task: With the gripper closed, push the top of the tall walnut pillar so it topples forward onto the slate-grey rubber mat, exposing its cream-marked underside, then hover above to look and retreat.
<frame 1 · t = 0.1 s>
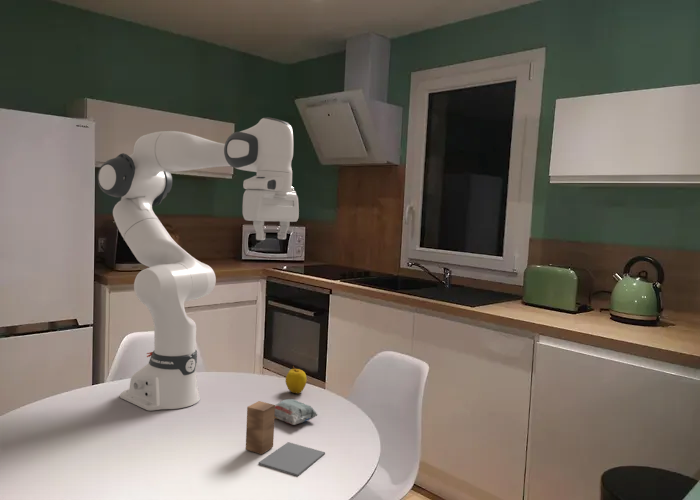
hand: (271, 239, 131), 48 cm above the table, fingers open, 8 cm apart
pillar: (259, 449, 121), on the table
mat: (292, 458, 117), on the table
packaged food: (290, 421, 138), on the table
apple: (295, 393, 160), on the table
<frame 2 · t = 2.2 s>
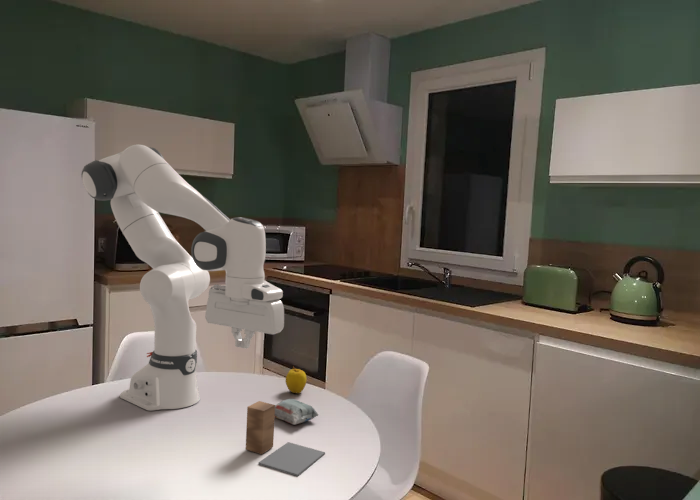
hand: (242, 347, 122), 23 cm above the table, fingers closed
nothing on the table moved.
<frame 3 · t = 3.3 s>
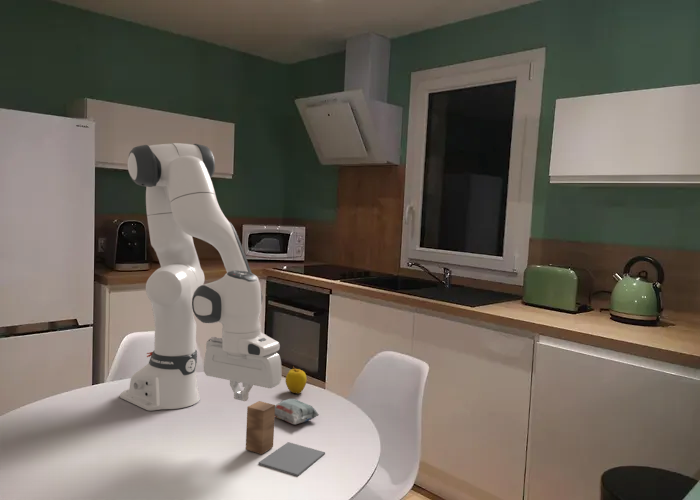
hand: (241, 399, 122), 11 cm above the table, fingers closed
nothing on the table moved.
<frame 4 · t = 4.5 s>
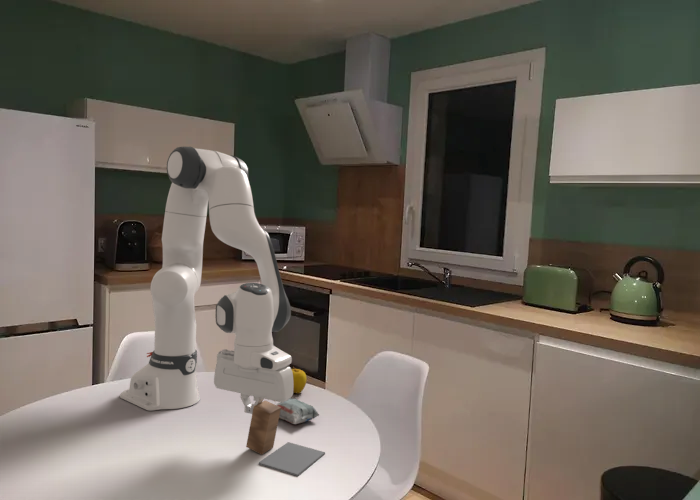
hand: (251, 413, 121), 8 cm above the table, fingers closed
pillar: (259, 448, 121), on the table, tilted 9°
everything else where it was.
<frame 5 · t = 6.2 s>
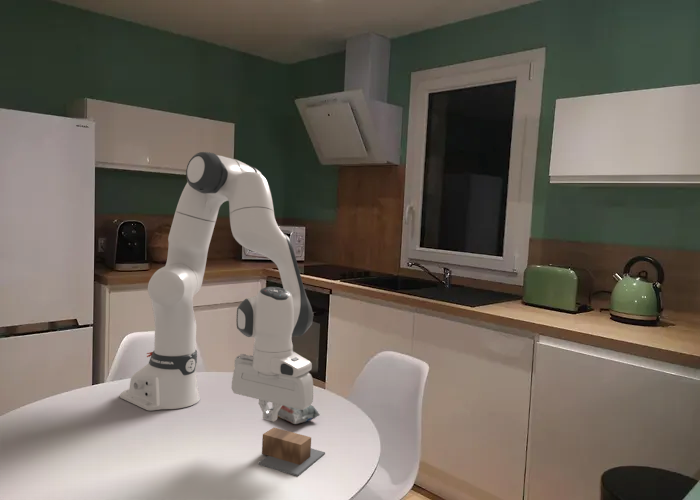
hand: (269, 419, 119), 8 cm above the table, fingers closed
pillar: (267, 440, 120), point 3 cm above the table, tilted 90°, touching mat
everything else where it was.
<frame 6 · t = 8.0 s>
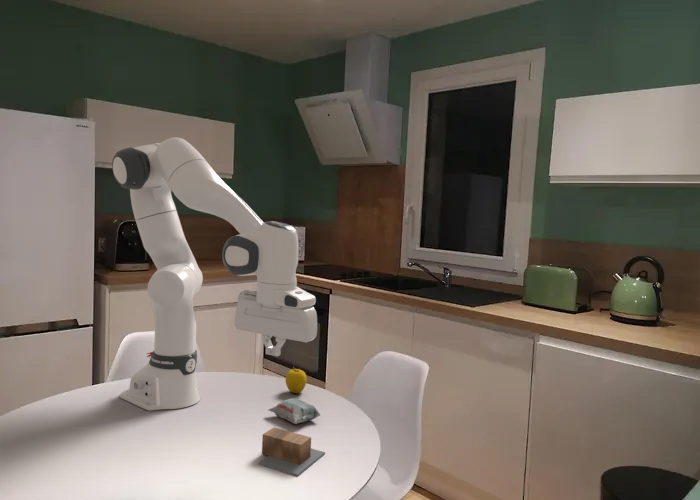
hand: (272, 354, 118), 23 cm above the table, fingers closed
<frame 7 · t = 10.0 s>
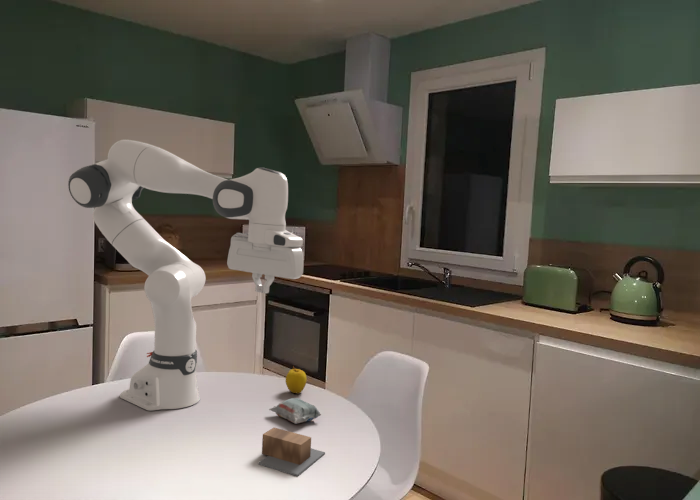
hand: (262, 292, 127), 35 cm above the table, fingers closed
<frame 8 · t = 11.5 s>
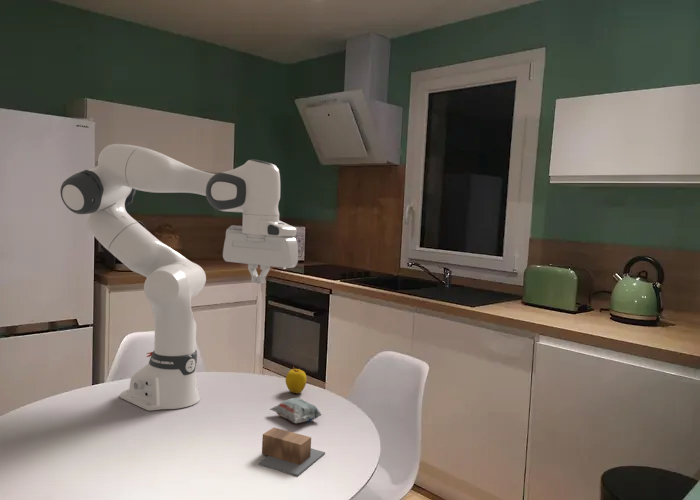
hand: (258, 283, 129), 37 cm above the table, fingers closed
at the end: pillar tilted 90°; pillar inside the target area (5.5 cm from its centre), point 2.6 cm above the table; pillar 7.0 cm from the mat (horizontally) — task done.
